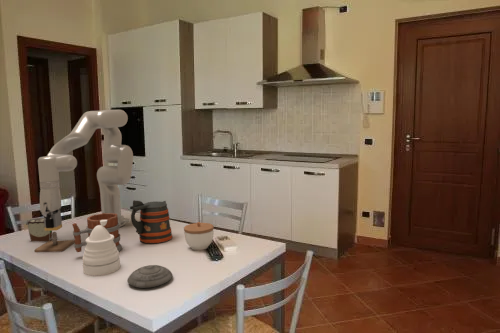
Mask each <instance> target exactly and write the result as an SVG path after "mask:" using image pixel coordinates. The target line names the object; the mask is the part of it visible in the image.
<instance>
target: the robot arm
mask: <svg viewBox="0 0 500 333" xmlns="http://www.w3.org/2000/svg"><path fill="white" fill-rule="evenodd" d="M128 117H129V116H128V114H127V112H125V111H124V110H123V109H102V110H90V111H89V110H88V111H86V112H84V113H83V114H82V115H81V117H80V118H79V119H78V122H76V124H75V126H74V127H73V129H72V130H71V132H70V133H69V134H67V135H66V136H64V137H63V138H62V139H60V140H59V141H57V142H56V143H55V144H54V145H52V147H51V149H50V151H49V152H48V153H47V155H46V156H40V157H39V158H38V159H37V165H38V176H39V188H40V189H39V191H40V192H39V210H40V213H41V215H42V216H43V218H44V217H45V221H46V228H54V220H53V219H52V216H53V212H61V209H62V194H61V190H60V188H61V186H60V172H71V171H73V170H75V168H77V166H78V160H77V158H76V157H75V156H74V155H72V154H69V153H70V152H72V151H74V150H76V149H79V148H81V147H83V146H85V145H87V144H88V143H89V141H90V139H91V138H92V137H93V135H94V133H95V132H96V130H98V129H101V130H102V132H103V134H104V135H103V136H104V138H103V140H104V141H103V146H102V161H104V162H105V163H108V164H117V165H103V166H100V167H99V168H98V169H97V172H96V179H97V182H98V186H99V193H100V205H101V206H100V209H101V214H102V213H113V214H117V217H118V222H119V225H120V228H122V227H123V226H125V225H126V223H130V222H131V218H129V217H125V218H124V215H122V203H121V191H120V188H119V187H118V186H122V185H123V186H125V185H127V184H128V183H129V182H130V181H131V178H132V171H133V170H132V169H133V163H134V162H133V161H134V153H133V150H132V148H131V147H130V146H129V145H126V144H122V139H123V138H122V136H123V135H122V132H121V131H120V128H121V127H124V126H125V125H126V124H127V122H128V119H129V118H128ZM47 213H50V215H49V214H47Z"/></svg>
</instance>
